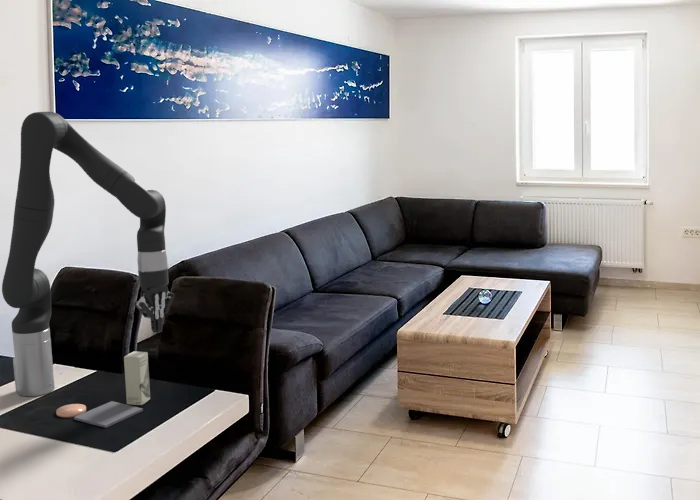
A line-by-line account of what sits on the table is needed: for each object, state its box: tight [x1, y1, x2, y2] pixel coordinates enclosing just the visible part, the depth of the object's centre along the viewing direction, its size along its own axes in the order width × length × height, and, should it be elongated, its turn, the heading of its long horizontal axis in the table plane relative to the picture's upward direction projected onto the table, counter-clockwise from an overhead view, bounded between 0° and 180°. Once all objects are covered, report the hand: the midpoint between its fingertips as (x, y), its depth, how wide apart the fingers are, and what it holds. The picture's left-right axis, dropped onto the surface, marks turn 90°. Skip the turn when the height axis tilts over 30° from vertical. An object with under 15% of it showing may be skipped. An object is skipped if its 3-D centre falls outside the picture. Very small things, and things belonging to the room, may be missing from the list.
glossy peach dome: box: [55, 403, 87, 418], centre depth 187 cm, size 7×7×1 cm
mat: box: [73, 400, 144, 429], centre depth 185 cm, size 11×12×1 cm
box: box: [123, 351, 151, 406], centre depth 192 cm, size 5×4×13 cm
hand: (157, 331), depth 197 cm, fingers closed
